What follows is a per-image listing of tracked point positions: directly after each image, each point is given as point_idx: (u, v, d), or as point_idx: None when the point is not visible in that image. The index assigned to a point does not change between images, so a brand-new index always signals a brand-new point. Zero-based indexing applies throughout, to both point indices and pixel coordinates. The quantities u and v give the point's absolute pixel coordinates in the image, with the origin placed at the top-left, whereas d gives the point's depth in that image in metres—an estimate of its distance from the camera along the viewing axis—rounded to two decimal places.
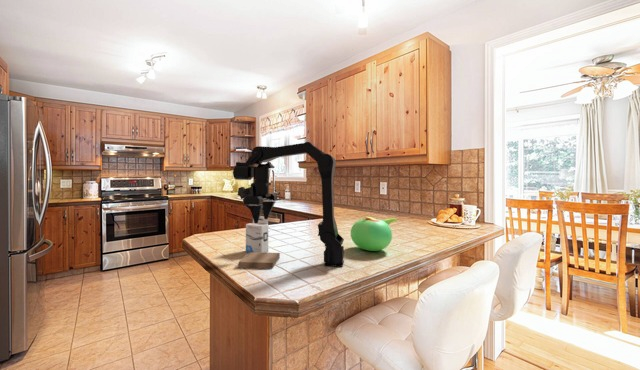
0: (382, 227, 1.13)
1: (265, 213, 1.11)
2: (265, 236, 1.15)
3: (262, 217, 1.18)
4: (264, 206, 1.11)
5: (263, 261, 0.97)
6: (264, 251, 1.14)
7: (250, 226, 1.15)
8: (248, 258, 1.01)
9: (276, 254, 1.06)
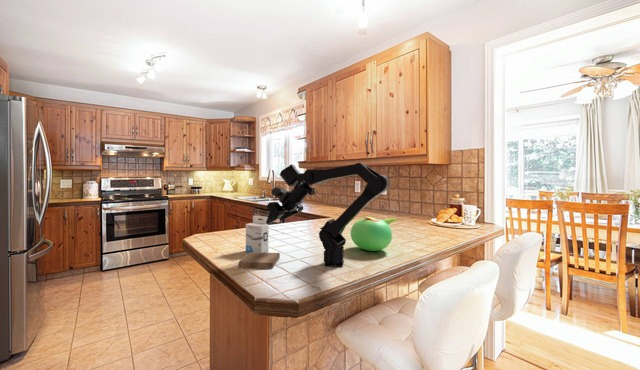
0: (382, 227, 1.13)
1: (283, 215, 1.16)
2: (265, 236, 1.15)
3: (262, 217, 1.18)
4: None
5: (263, 261, 0.97)
6: (264, 251, 1.14)
7: (250, 226, 1.15)
8: (248, 258, 1.01)
9: (276, 254, 1.06)
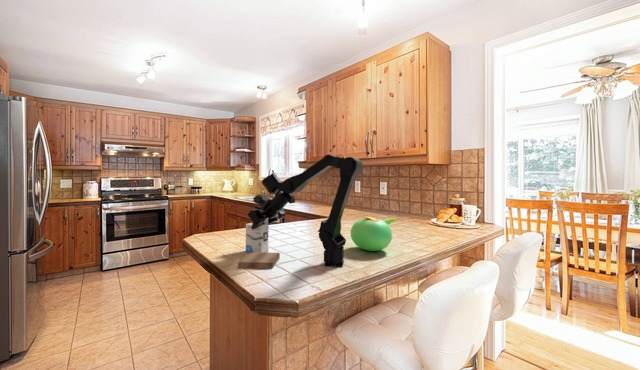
0: (382, 227, 1.13)
1: None
2: (265, 236, 1.15)
3: None
4: None
5: (263, 261, 0.97)
6: (264, 251, 1.14)
7: (250, 226, 1.15)
8: (248, 258, 1.01)
9: (276, 254, 1.06)
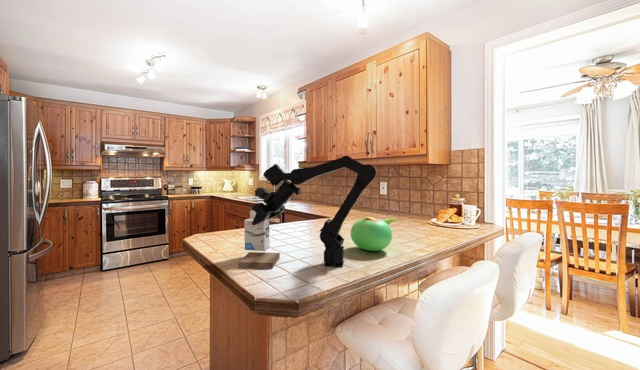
0: (382, 227, 1.13)
1: None
2: (267, 232, 1.08)
3: None
4: None
5: (263, 261, 0.97)
6: (266, 248, 1.07)
7: (250, 222, 1.06)
8: (248, 258, 1.01)
9: (276, 254, 1.06)
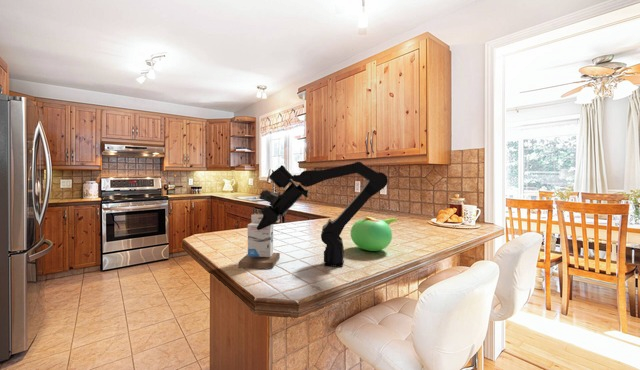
0: (382, 227, 1.13)
1: None
2: (272, 236, 1.03)
3: None
4: None
5: (263, 261, 0.97)
6: (271, 253, 1.02)
7: (254, 226, 1.00)
8: (248, 258, 1.01)
9: (276, 254, 1.06)
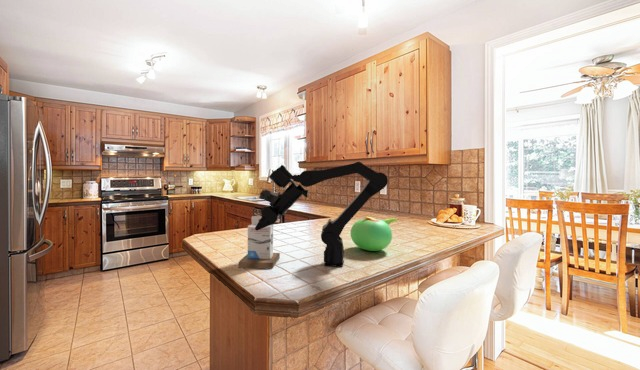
0: (382, 227, 1.13)
1: None
2: (272, 238, 1.03)
3: None
4: None
5: (263, 261, 0.97)
6: (271, 255, 1.02)
7: (254, 228, 1.00)
8: (248, 258, 1.01)
9: (276, 254, 1.06)
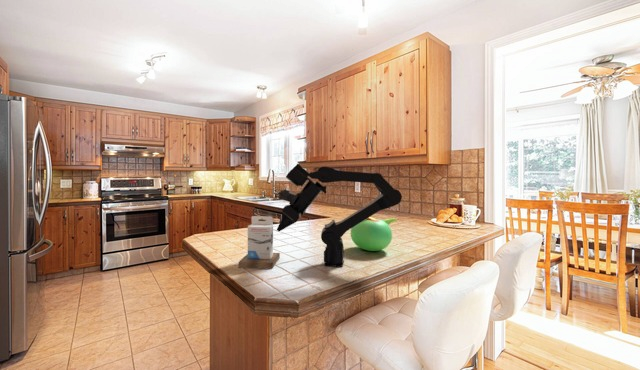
0: (382, 227, 1.13)
1: None
2: (272, 238, 1.03)
3: (265, 217, 1.04)
4: None
5: (263, 261, 0.97)
6: (271, 255, 1.02)
7: (254, 228, 1.00)
8: (248, 258, 1.01)
9: (276, 254, 1.06)
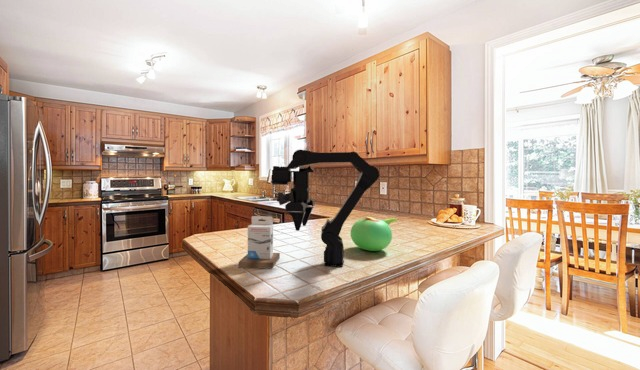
0: (382, 227, 1.13)
1: (303, 219, 1.06)
2: (272, 238, 1.03)
3: (265, 217, 1.04)
4: None
5: (263, 261, 0.97)
6: (271, 255, 1.02)
7: (254, 228, 1.00)
8: (248, 258, 1.01)
9: (276, 254, 1.06)
